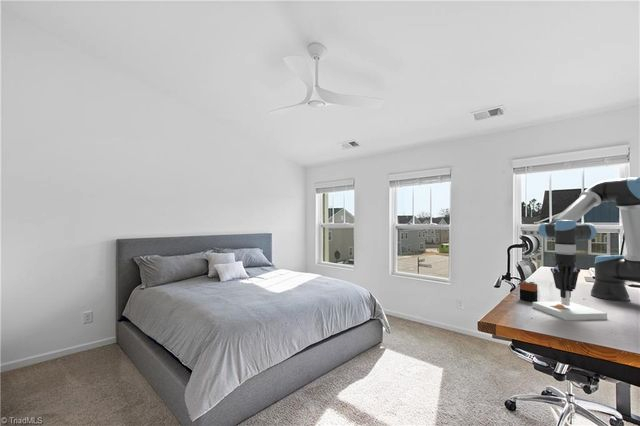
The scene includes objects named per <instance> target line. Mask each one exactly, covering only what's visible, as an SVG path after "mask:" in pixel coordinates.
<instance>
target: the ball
mask: <svg viewBox="0 0 640 426" xmlns="http://www.w3.org/2000/svg"><path fill="white" fill-rule="evenodd" d="M554 308H556V309H559V310H561V309H565V307H564V306H563V305H561V304H557V305H555V307H554Z"/></svg>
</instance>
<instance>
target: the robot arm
mask: <svg viewBox="0 0 640 426" xmlns="http://www.w3.org/2000/svg"><path fill="white" fill-rule="evenodd" d="M609 202H611V203H613V202H614V203H615V208H619V209H620V215H621V216H620V217H621V222H622V223H621V224H622V228H623V234H624V242H625V247H626V252H627V253H626V254H625V255H622V254H619V255H618V254H617V255H616V254H613V255H612V254H611V255H610V254H609V255H597V256H595V259H594V263H593V264H594V282H593V285H592V288H591V290H590V295H591V296H592V297H596V298H600V299H602V300H610V301H620V302H625V301H630V294H629V293H628V291H627V287H626V285H625V282H629V283H630V282H631V283H637V284H640V176H636V177H635V176H632V177H623V178H615V179H606V180H602V181H599V182H596V183H594V184H592V185H591V186H589V187H587V188H586V189H585V190H583V191H582V192H580V194H579V197H578V198H577V199H576V200H575V201H574V202H572V203H571V204H570V205H568V206H567V207H566V208H565V209H564V210H563V211H562V212H561V213H559V215H557V216H556V217H555V218H553V219H552V220H551V221H550V222H549V223H548V222H545V223H540V224H539V226H538V230H537V231H538V233H539V236H540V237H542V238H547V239H554V252H555V254H554V262H556V263H555V266H554V267H553V268H550V271H551V273H552V277H553V282H554V285H555V288H556V289H557V290H559V292H560V296H559V297H560V298H561V301H560V302H561V304H563V305H566V306H570V302H571V295H572V292H574V290H576V287H577V283H578V282H577V281H578V277H579V273H581V268H577V266H576V264H575V263H577V255H576V254H577V241H590V240H593V239H594V238H595V237H596V236H597V229H596V227H595V226H594V225H592V224H587V223H577V221H579V220H580V219H581V218H582V217H584V216H585V215H586V214H587V213H588V212H590V211H591V210H592V209H593V208H594V207H598V206H599V205H601V204H603V203H609Z"/></svg>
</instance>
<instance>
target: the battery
mask: <svg viewBox="0 0 640 426" xmlns="http://www.w3.org/2000/svg"><path fill="white" fill-rule="evenodd" d="M519 300H521V301H524V302H529V303H533V302H538V284H537V283H535V281H529V282H527V281H526V280H522V281H521V282H519Z"/></svg>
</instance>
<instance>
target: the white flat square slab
mask: <svg viewBox="0 0 640 426" xmlns="http://www.w3.org/2000/svg"><path fill="white" fill-rule="evenodd" d="M557 304H561V301H536V302H532V308H534V309H536V310H539V311H541V312H544V313H547V314H550V315H552V316H554V317H557V318H560V319H562V320H565V321H578V320H579V321H581V320H583V321H585V320H586V321H587V320H588V321H589V320H607V319H608V312H604V311H601V310H598V309H596V308H591V307H588V306H584V305H582V304H578V303H576V302H573V301H570V306H566V305H563V304H561V305H563V306H564V307H565V309H561V310H559V309H556V308H554V307H555V305H557Z"/></svg>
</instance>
